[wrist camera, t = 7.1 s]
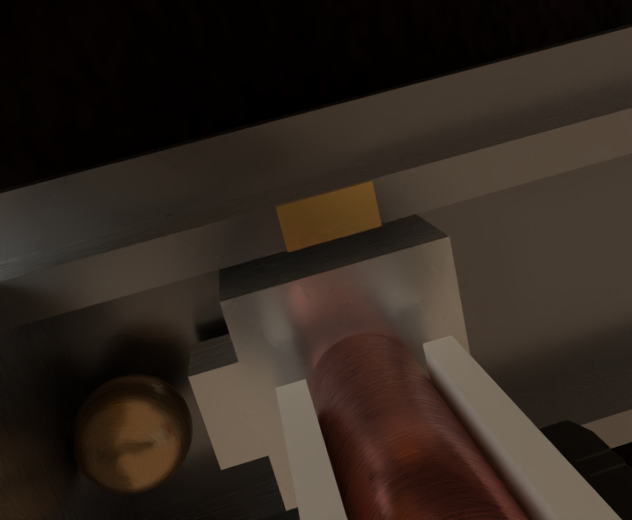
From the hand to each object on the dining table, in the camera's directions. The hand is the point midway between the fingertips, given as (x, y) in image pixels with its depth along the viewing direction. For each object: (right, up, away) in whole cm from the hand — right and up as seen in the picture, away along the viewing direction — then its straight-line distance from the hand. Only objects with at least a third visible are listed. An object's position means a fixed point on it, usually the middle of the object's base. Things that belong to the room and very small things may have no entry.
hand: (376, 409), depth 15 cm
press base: (-1, +2, +5) cm, 6 cm away
